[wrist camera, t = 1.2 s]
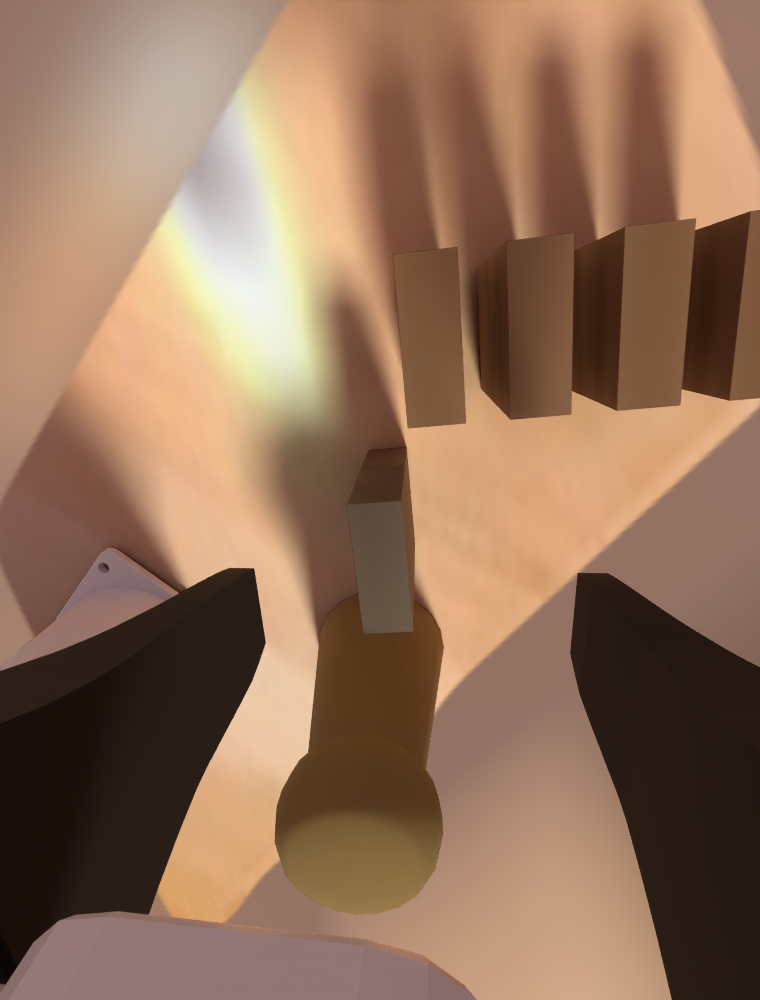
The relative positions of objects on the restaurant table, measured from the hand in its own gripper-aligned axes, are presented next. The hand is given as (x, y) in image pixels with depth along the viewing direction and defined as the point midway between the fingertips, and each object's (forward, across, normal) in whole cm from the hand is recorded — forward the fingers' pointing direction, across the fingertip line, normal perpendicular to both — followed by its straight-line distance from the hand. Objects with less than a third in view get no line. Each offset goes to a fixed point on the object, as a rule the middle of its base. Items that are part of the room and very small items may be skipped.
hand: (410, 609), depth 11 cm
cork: (+11, +2, +9) cm, 14 cm away
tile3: (+11, -3, -5) cm, 13 cm away
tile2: (+11, 0, -5) cm, 12 cm away
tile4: (+12, -6, -6) cm, 14 cm away
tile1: (+11, +2, +1) cm, 11 cm away
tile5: (+12, -8, -6) cm, 15 cm away
